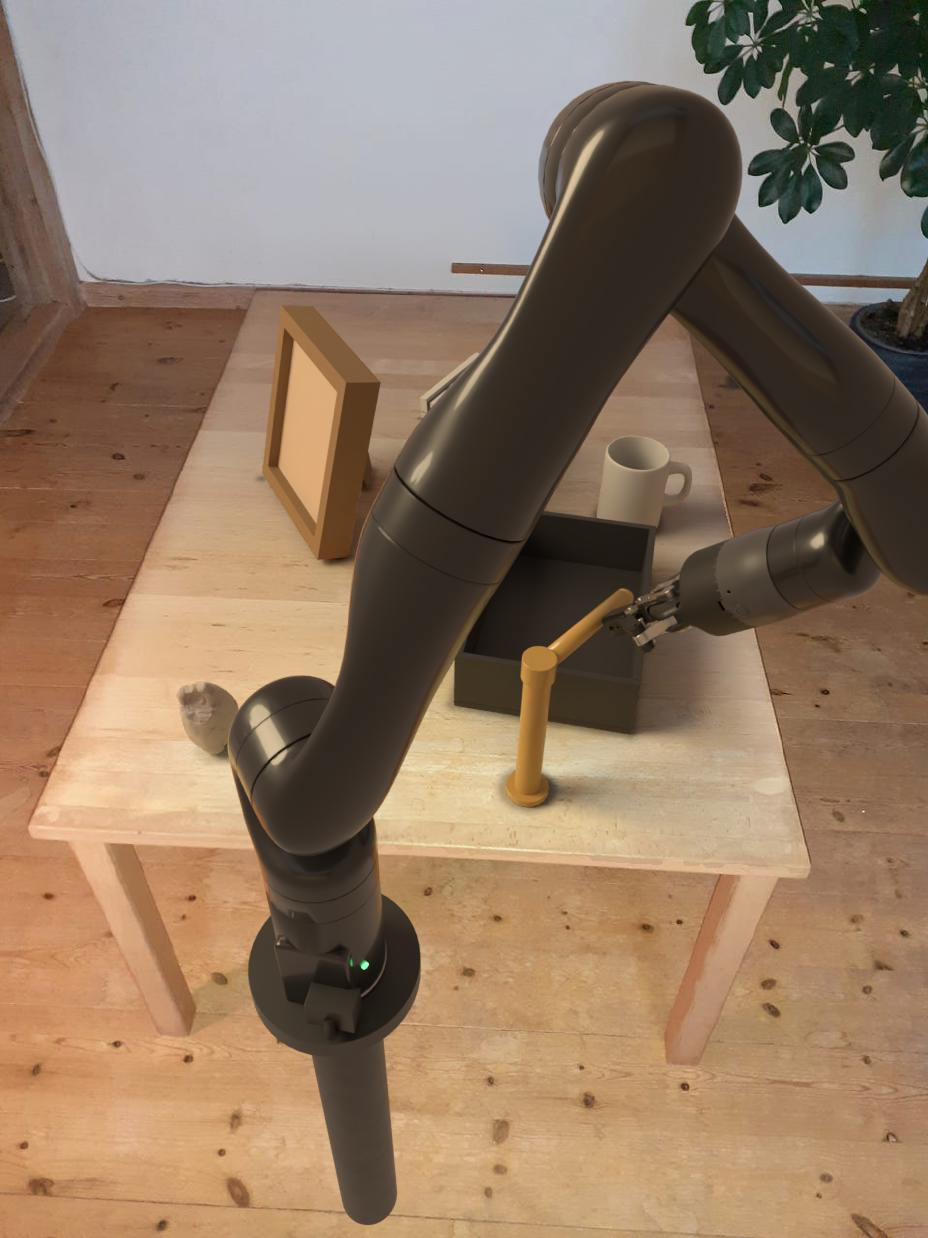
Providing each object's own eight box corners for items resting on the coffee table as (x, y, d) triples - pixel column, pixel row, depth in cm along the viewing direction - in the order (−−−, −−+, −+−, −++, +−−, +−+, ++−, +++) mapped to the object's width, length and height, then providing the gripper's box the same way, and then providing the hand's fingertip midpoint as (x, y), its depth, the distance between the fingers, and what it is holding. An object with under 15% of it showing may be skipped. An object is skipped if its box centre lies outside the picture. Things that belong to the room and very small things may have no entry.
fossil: (242, 727, 106) (228, 663, 100) (248, 751, 104) (235, 686, 97) (188, 742, 105) (170, 677, 98) (193, 766, 102) (176, 701, 96)
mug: (600, 539, 131) (609, 471, 124) (592, 501, 138) (601, 434, 130) (689, 539, 132) (704, 471, 124) (677, 502, 138) (691, 434, 130)
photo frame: (318, 566, 126) (299, 393, 109) (262, 478, 140) (238, 313, 123) (422, 534, 132) (419, 365, 115) (358, 453, 146) (347, 291, 129)
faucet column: (545, 810, 99) (558, 699, 88) (502, 802, 100) (510, 691, 88) (551, 776, 102) (564, 665, 91) (509, 769, 103) (518, 657, 92)
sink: (630, 734, 107) (640, 685, 101) (453, 705, 109) (454, 656, 104) (647, 574, 126) (656, 525, 121) (497, 552, 129) (500, 504, 124)
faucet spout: (538, 712, 89) (542, 676, 86) (512, 694, 91) (514, 658, 88) (639, 624, 98) (645, 589, 95) (613, 610, 100) (618, 574, 96)
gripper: (767, 503, 82) (628, 557, 96) (685, 582, 75) (547, 628, 89) (811, 578, 83) (667, 620, 97) (734, 663, 76) (591, 696, 90)
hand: (610, 624), depth 93 cm, fingers closed
